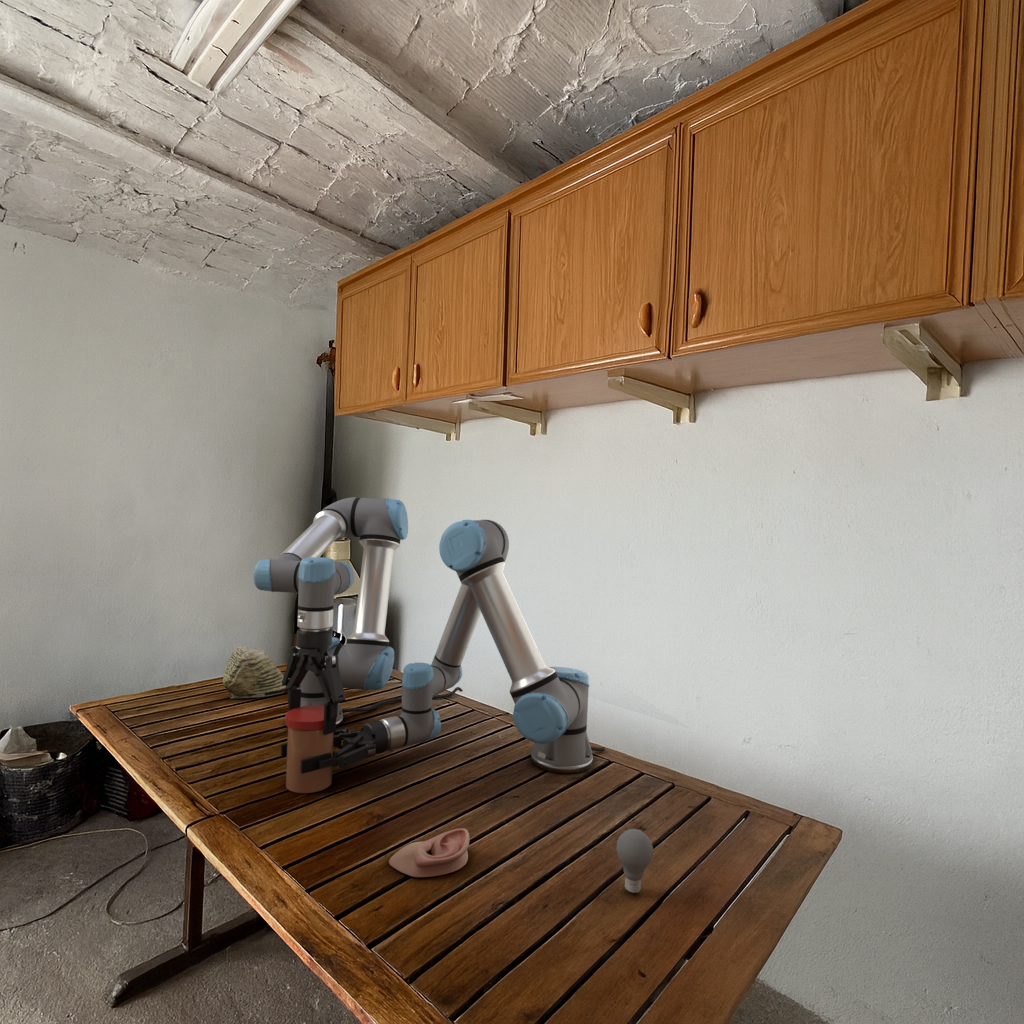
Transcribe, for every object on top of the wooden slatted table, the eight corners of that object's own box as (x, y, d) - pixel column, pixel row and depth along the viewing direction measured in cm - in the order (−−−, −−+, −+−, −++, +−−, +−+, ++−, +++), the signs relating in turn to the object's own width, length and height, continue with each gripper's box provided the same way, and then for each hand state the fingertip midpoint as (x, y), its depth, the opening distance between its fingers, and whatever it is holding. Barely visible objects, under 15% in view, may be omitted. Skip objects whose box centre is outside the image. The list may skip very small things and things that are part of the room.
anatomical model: (382, 848, 108) (407, 816, 119) (381, 871, 108) (406, 837, 119) (457, 861, 105) (475, 826, 116) (456, 884, 105) (474, 848, 116)
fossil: (218, 695, 195) (220, 647, 195) (278, 685, 208) (279, 640, 207) (228, 703, 189) (230, 653, 188) (289, 692, 201) (290, 645, 201)
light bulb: (610, 879, 108) (613, 822, 108) (644, 879, 109) (647, 822, 109) (619, 902, 102) (622, 840, 102) (655, 901, 103) (658, 840, 103)
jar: (316, 769, 147) (319, 705, 146) (340, 783, 140) (343, 716, 140) (277, 782, 139) (279, 715, 139) (300, 797, 133) (303, 727, 133)
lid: (278, 718, 140) (278, 710, 140) (325, 710, 147) (325, 702, 147) (295, 734, 132) (295, 725, 132) (344, 724, 139) (345, 716, 139)
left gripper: (267, 622, 143) (264, 717, 144) (336, 639, 129) (332, 745, 130) (296, 618, 149) (292, 709, 150) (365, 634, 135) (361, 735, 136)
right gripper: (406, 767, 144) (313, 795, 129) (358, 737, 160) (270, 758, 145) (408, 734, 143) (314, 758, 128) (359, 707, 160) (271, 726, 145)
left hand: (311, 725), depth 140 cm, fingers open, 12 cm apart
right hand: (291, 758), depth 137 cm, fingers closed on jar, 10 cm apart
